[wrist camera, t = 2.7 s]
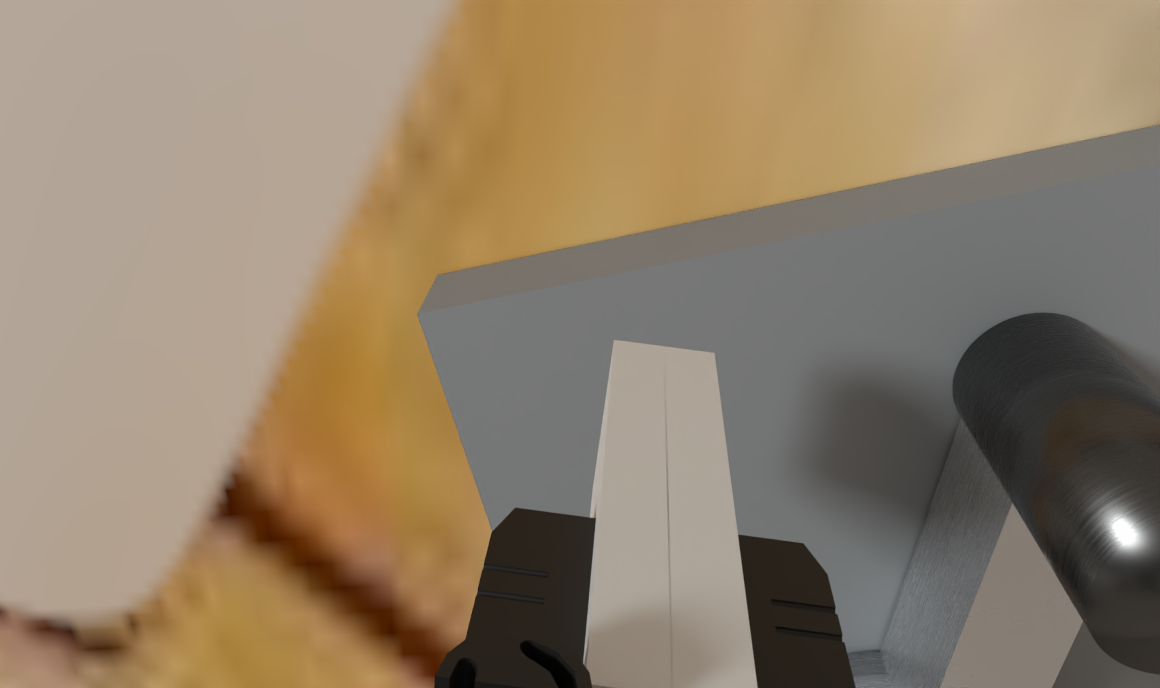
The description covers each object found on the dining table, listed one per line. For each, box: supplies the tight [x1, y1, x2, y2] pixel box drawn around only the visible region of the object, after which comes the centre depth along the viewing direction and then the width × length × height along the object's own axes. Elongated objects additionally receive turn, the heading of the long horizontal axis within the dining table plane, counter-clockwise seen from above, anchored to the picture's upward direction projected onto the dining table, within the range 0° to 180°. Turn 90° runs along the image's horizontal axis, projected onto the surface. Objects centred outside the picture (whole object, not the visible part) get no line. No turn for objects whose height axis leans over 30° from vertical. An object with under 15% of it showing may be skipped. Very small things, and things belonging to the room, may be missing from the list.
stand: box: [417, 125, 1160, 688], centre depth 21 cm, size 25×22×2 cm
